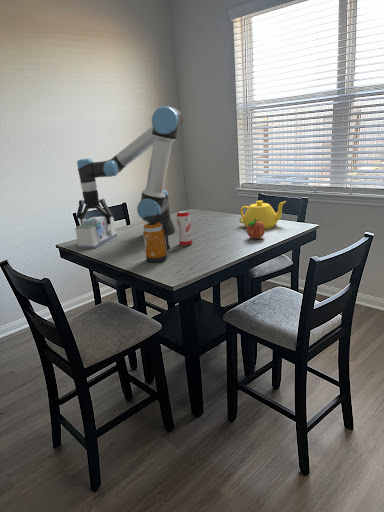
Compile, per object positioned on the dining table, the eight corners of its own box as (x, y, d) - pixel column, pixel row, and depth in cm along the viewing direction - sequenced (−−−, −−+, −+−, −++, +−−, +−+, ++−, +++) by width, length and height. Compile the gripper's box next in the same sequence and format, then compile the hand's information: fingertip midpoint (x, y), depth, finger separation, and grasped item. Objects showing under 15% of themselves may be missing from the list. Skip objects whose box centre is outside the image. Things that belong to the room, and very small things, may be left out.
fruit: (269, 237, 187) (268, 216, 184) (257, 242, 180) (257, 221, 177) (254, 234, 193) (253, 215, 189) (242, 239, 186) (241, 219, 183)
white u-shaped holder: (117, 235, 215) (114, 216, 211) (95, 248, 194) (91, 227, 191) (101, 235, 218) (97, 216, 214) (78, 248, 197) (74, 227, 194)
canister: (146, 257, 173) (141, 213, 167) (171, 254, 174) (166, 210, 167) (146, 264, 165) (140, 217, 158) (172, 261, 165) (167, 215, 159)
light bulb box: (97, 241, 200) (94, 221, 196) (86, 241, 202) (82, 221, 198) (107, 235, 209) (104, 216, 206) (96, 236, 211) (92, 216, 208)
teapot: (288, 222, 210) (288, 197, 206) (284, 231, 195) (283, 204, 190) (243, 222, 219) (242, 198, 215) (235, 230, 204) (233, 204, 199)
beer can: (194, 242, 189) (191, 210, 184) (190, 246, 184) (186, 213, 179) (182, 242, 191) (179, 210, 186) (177, 246, 186) (174, 213, 181)
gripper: (115, 187, 197) (121, 228, 203) (72, 190, 205) (80, 229, 211) (107, 190, 190) (114, 232, 197) (64, 192, 198) (72, 233, 204)
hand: (97, 230), depth 204 cm, fingers open, 13 cm apart
